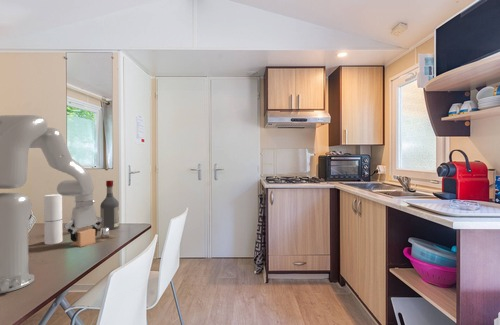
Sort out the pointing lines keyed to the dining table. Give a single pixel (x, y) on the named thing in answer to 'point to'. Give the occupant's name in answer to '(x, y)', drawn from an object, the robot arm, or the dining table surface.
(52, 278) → the dining table surface
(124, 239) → the dining table surface
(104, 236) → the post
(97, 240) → the board
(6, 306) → the dining table surface
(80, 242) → the orange block
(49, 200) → the cylindrical container
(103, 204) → the liquor
